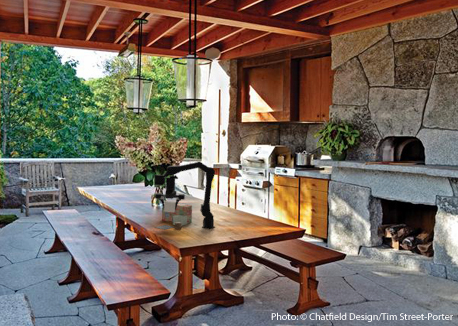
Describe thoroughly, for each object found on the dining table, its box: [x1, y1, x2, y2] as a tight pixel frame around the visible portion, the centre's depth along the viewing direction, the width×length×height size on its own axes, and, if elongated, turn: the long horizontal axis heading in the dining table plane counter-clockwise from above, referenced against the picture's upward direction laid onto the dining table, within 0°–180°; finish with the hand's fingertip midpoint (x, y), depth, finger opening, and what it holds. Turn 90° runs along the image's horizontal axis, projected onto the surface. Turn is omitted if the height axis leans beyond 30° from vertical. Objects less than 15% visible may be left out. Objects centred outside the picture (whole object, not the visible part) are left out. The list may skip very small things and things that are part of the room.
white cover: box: [164, 200, 176, 212], centre depth 270 cm, size 7×7×6 cm
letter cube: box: [174, 222, 182, 230], centre depth 270 cm, size 4×4×4 cm
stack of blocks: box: [161, 203, 193, 225], centre depth 291 cm, size 21×6×12 cm, turn 61°
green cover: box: [172, 214, 188, 227], centre depth 281 cm, size 7×7×6 cm
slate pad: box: [154, 224, 175, 231], centre depth 272 cm, size 9×9×1 cm
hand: (169, 209), depth 270 cm, fingers closed on white cover, 7 cm apart
